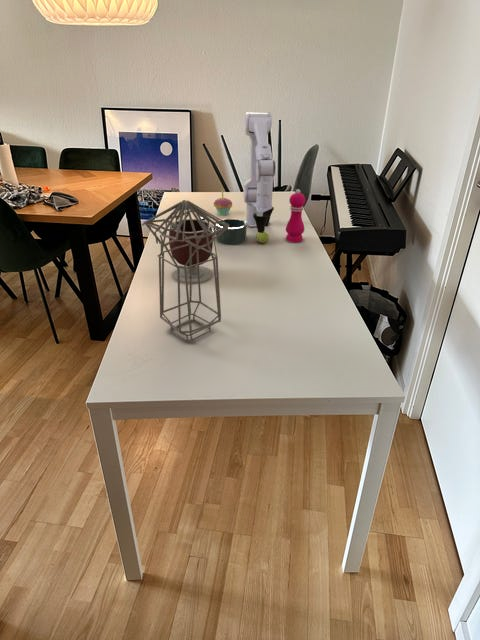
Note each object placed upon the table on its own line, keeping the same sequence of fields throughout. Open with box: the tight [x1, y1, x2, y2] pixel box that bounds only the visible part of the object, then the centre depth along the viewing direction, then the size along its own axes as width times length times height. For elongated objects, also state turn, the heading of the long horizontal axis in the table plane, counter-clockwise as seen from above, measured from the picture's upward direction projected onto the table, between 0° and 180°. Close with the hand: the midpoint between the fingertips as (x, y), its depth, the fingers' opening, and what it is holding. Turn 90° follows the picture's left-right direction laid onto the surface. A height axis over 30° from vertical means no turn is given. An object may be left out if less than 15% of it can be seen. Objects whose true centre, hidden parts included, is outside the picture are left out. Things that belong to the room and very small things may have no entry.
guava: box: [256, 230, 270, 244], centre depth 173 cm, size 5×5×5 cm
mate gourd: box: [167, 218, 214, 284], centre depth 143 cm, size 16×14×20 cm
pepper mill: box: [285, 188, 306, 243], centre depth 173 cm, size 7×7×20 cm
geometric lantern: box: [141, 199, 229, 343], centre depth 110 cm, size 16×16×35 cm
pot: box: [215, 218, 248, 246], centre depth 176 cm, size 12×12×6 cm
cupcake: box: [213, 188, 233, 216], centre depth 202 cm, size 9×8×12 cm
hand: (263, 229), depth 172 cm, fingers open, 7 cm apart
